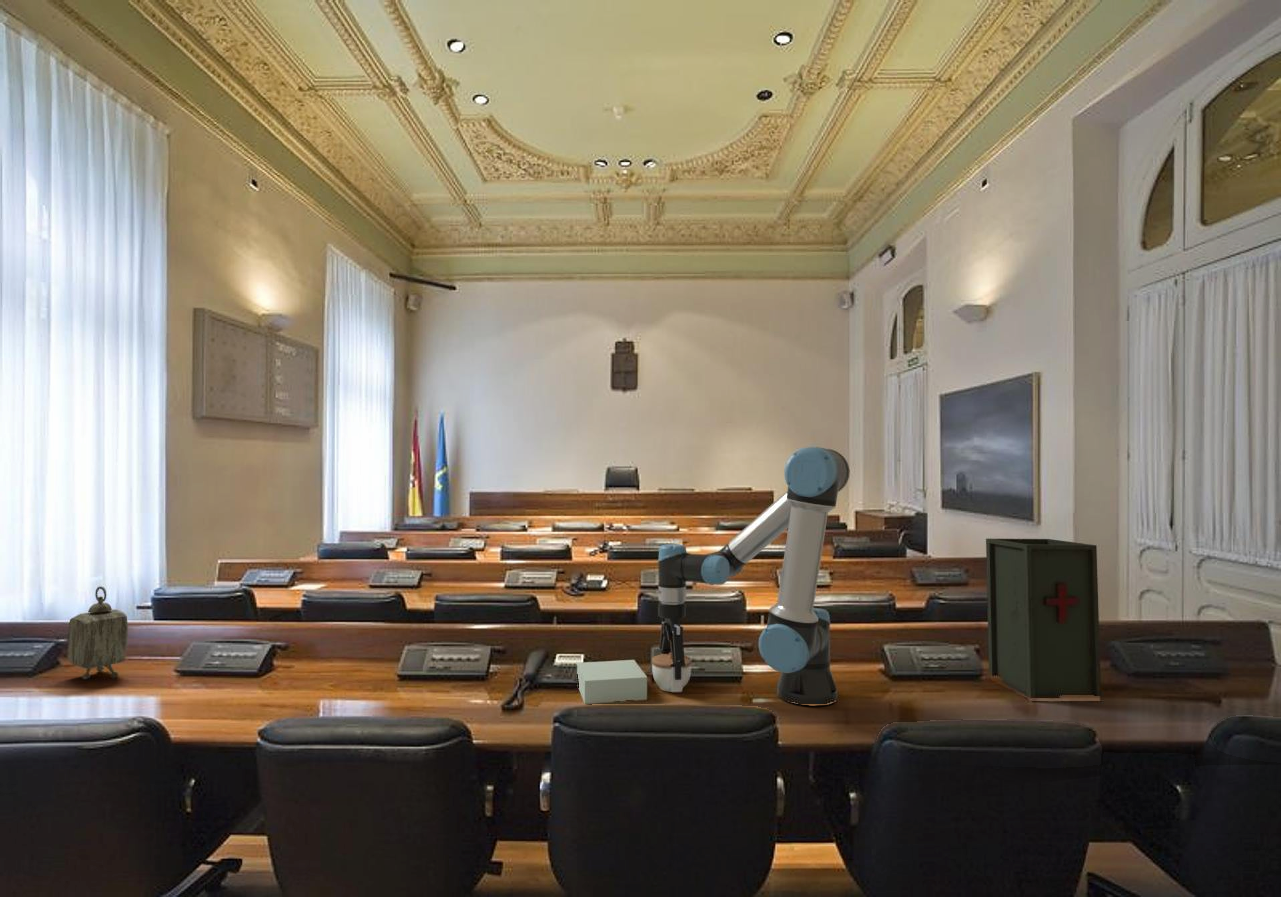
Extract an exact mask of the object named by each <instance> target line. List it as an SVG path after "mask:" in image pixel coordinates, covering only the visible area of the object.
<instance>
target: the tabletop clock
mask: <svg viewBox="0 0 1281 897" xmlns="http://www.w3.org/2000/svg"><path fill="white" fill-rule="evenodd" d="M99 590H102V593H103V594H104V595H103V596H98V592H99ZM94 593H95V599H96V601H97V602H96V603H93V604H92V605H91V606H90V607H89V608H88V612H83V613H79V614H77V615H76V616H73V617H72V618H70V619H69V624H68V634H67V660H68V662H69V663H70V664H71V665H73V666H76V667H79V668H83V669H86V672H85V673H84V674H82V679H83V680H88V679H90V677H91V674H90V671H91V669H94V668H96V671H97V672H98V673H99V672H102V671H104V668H106V669H108V670H109V672H110V673H111V675H110V677H111V678H112V679H116V678H118V677H119V672H118V671H114V669H113V667H112V665H115V664H120V663H123V662H125V660H126V656H127V647H128V616H127V615H126V613H125V612H124V611H121V610H119V609H112V606H111V605H110V604H109V602H108V603H107V602H105V601H106V599H107V590H106V588H105V587H104V586H101V585H100V586H98V587H97V588H96V589H95V592H94Z"/></svg>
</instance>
